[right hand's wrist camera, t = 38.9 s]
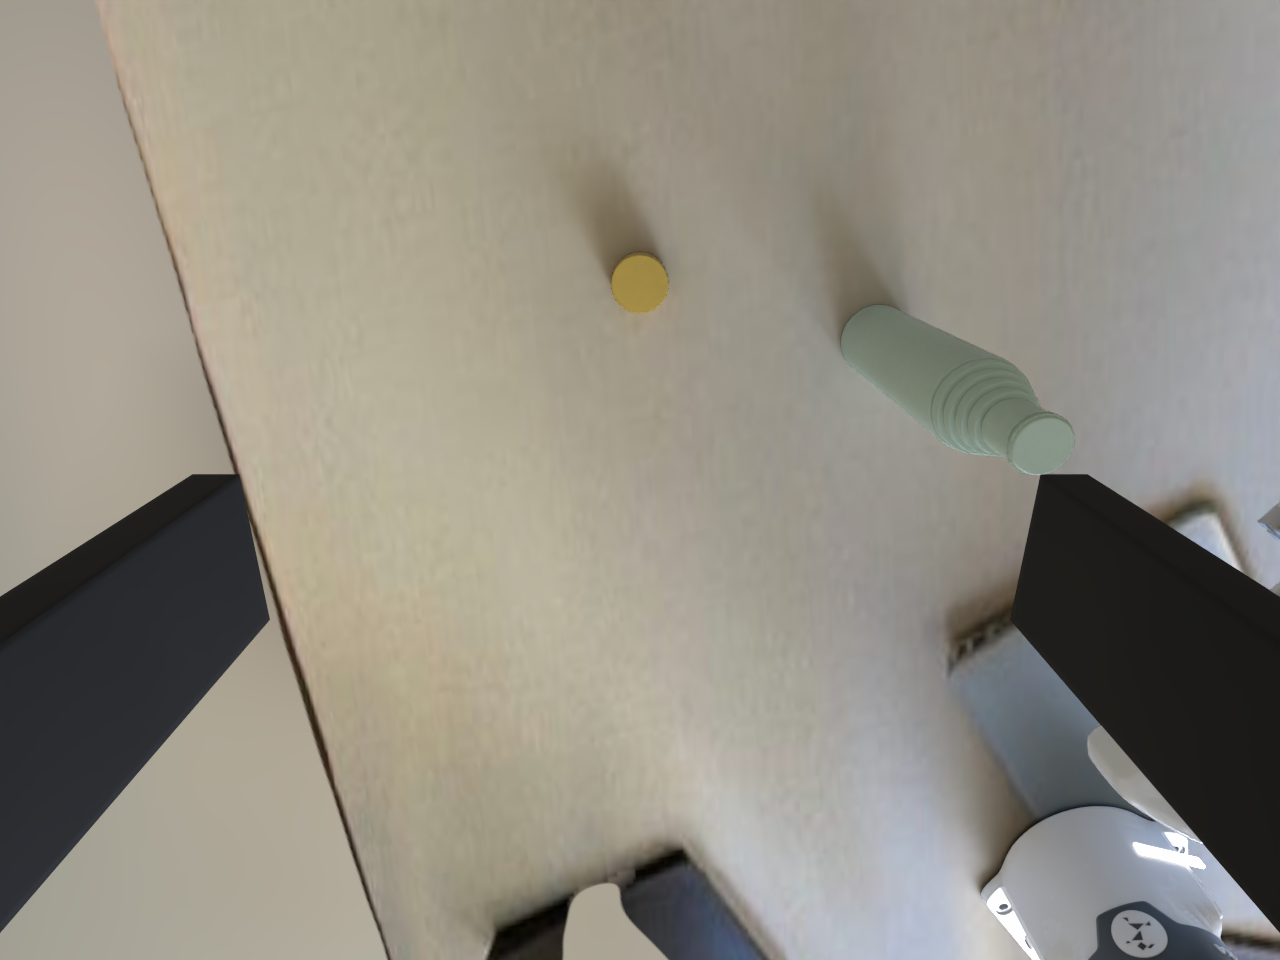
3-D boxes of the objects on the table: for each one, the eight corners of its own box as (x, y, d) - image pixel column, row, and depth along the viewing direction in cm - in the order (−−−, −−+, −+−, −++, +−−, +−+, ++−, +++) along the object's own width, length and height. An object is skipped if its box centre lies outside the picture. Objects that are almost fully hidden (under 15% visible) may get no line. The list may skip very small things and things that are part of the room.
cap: (602, 292, 51) (600, 296, 48) (628, 240, 49) (627, 243, 47) (650, 318, 51) (651, 324, 49) (677, 268, 50) (679, 272, 48)
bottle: (921, 316, 51) (1127, 409, 30) (892, 382, 53) (1066, 515, 31) (857, 295, 51) (1018, 373, 29) (829, 361, 52) (963, 483, 31)
